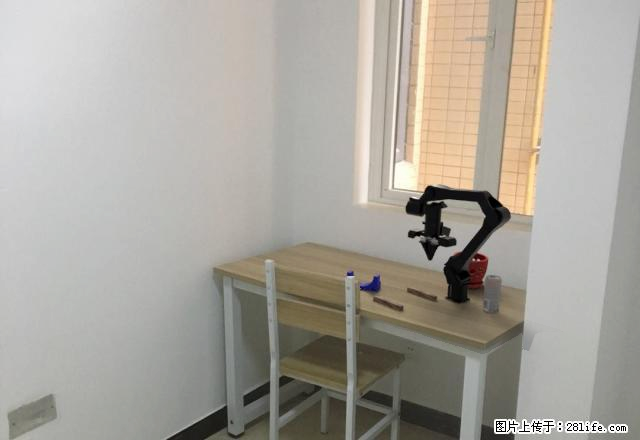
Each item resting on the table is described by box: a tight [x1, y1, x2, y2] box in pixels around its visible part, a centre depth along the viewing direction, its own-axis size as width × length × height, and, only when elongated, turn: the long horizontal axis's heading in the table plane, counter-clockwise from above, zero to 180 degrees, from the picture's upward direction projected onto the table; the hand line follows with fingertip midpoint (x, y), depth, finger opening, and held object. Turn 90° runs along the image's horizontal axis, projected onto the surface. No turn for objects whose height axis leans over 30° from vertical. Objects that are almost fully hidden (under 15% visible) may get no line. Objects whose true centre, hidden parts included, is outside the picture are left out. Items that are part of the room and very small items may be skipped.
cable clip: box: [346, 269, 382, 293], centre depth 223 cm, size 12×4×6 cm, turn 66°
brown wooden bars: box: [372, 286, 438, 311], centre depth 211 cm, size 13×19×2 cm
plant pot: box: [453, 250, 489, 289], centre depth 229 cm, size 13×13×12 cm
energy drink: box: [482, 274, 503, 314], centre depth 201 cm, size 5×5×12 cm
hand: (430, 260), depth 218 cm, fingers closed
